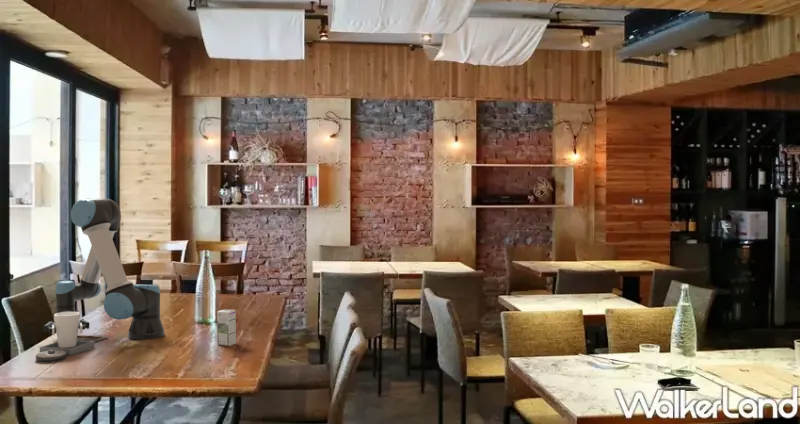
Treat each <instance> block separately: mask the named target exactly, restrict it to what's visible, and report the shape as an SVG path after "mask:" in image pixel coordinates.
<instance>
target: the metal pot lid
mask: <svg viewBox="0 0 800 424" xmlns="http://www.w3.org/2000/svg"><path fill="white" fill-rule="evenodd" d="M66 359H67V353H66V352H65V351H62V350H54V349H51V350H48V351H44V352H40V351H39V352H38V353H36V354H35V362H37V363H42V364H43V363H46V364H48V363H49V364H50V363H56V362H61V361H64V360H66Z"/></svg>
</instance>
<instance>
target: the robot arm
mask: <svg viewBox="0 0 800 424" xmlns="http://www.w3.org/2000/svg"><path fill="white" fill-rule="evenodd" d="M121 213H122V212H121V209H120V207H119V205H118V203H117V202H115V201H114V200H112V199H110V198H84V199H83V198H82V199H79V200H77V201H76V202H75V203H74V204H73V205H72V208H71V211H70V219H71V222H72V223H73V224H74V225H75V226H76V227H78V228H80V229H81V231H82V233H83V235H85V236H88V239H89V242H90V244H91V246H90V249H89V252H88V255H87V259H86V262H85V265H84V269H83V271H82V274H81V277H80V281H79V283H75V281H74V280H62V281H58V282H56V284H55V306H56V307H55V314H57V313H62V312H76V302H77V301H82V300H87V299H92V298H95V297H97V296H99V295H100V293H101V290H102V289H101V284H100V283H99V281H100V278H101V275H102V277H103V280H104V282H105V285H106V289H105V292H104V295H105V297H104V300H103V301H104V302H103V308H104V311H105V313H106V314H107V316H109V317H110V318H111V319H114V320H126V319H129V318H132V320H131V323H130V325H129V329H128V332H127V337H128V339H130V340H131V339H132V340H152V339H153V340H154V339H157V338H162V337H164V336H165V328H164V325H163V323H162V320H161V291H160V286H159V285H157V284H137V283H136V284H135V283H133V282H132V281H129V280H128V278H127V275H126V273H125V270H124V269H125V268H124V267H123V263H122V261H121V259H120V255H119V253H118V251H117V247H116V246H115V243H114V240H113V239H114V236H115V233H117V232H118V231H119V228H120V225H121V218H122V214H121ZM87 329H90V322H89V321H87V320H85V318H82V319H81V318H80V319H79V326H78V330H79V332H80V334H81V333H83V331H84V330H87ZM43 332H44V333H47V332H48V334H50V335H52V336H55V332H56V327H55V322H54V321H52V320H51V321H48V322H47V323H45V324H44V325H43Z"/></svg>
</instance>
